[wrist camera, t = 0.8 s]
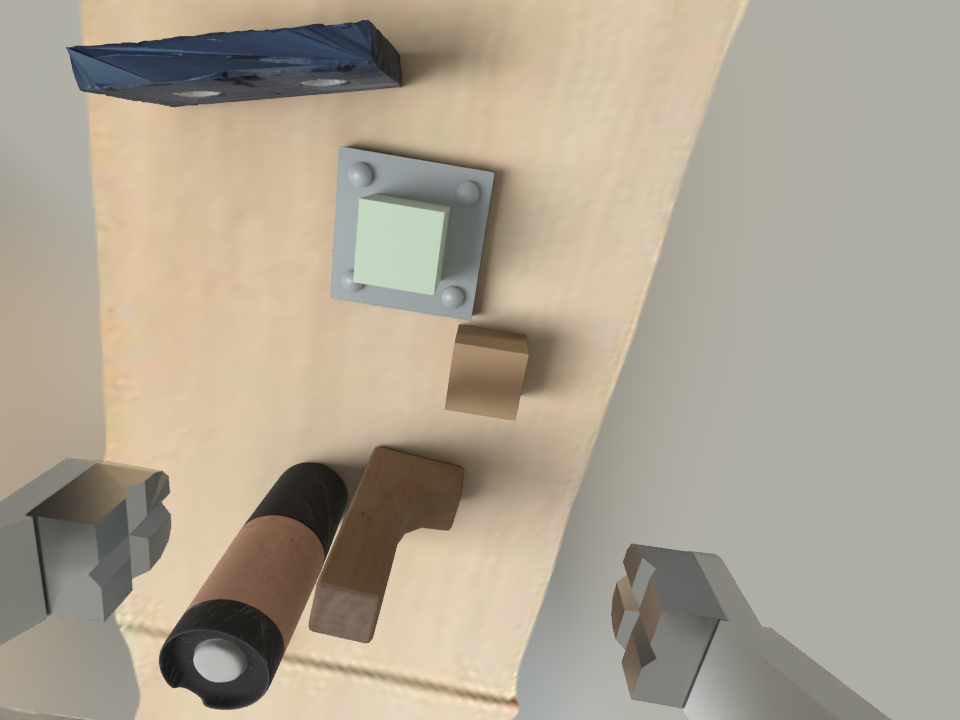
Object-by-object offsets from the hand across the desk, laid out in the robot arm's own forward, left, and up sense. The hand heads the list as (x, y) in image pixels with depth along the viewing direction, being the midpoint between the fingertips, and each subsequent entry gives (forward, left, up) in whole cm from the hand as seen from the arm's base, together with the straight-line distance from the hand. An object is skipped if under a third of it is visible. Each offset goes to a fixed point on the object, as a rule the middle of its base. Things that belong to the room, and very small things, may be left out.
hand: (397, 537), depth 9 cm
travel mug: (+28, -12, -37) cm, 48 cm away
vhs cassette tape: (-9, -16, -38) cm, 42 cm away
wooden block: (+24, -2, -37) cm, 44 cm away
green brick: (+1, -5, -36) cm, 36 cm away
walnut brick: (+11, +3, -37) cm, 39 cm away
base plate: (+1, -5, -37) cm, 38 cm away
